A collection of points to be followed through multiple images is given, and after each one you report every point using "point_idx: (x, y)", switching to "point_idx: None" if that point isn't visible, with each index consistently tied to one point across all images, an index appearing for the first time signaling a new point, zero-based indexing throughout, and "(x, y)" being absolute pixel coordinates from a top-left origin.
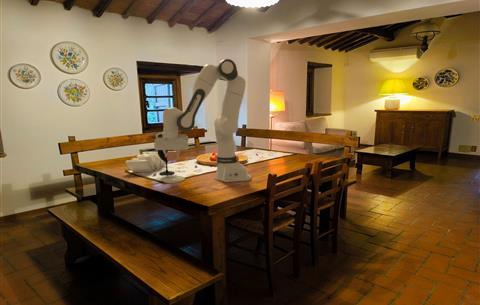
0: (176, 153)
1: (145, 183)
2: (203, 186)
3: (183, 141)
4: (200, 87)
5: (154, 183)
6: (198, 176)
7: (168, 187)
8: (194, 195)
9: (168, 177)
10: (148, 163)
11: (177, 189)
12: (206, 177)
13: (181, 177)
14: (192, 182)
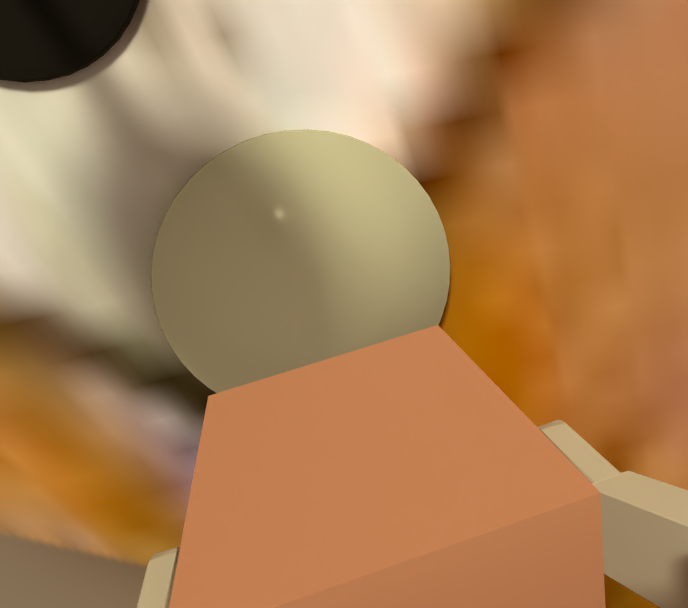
0: (527, 434)
1: (59, 486)
2: (668, 411)
3: None
4: None
5: (164, 459)
6: (580, 43)
7: None
8: (622, 593)
9: (216, 252)
10: None
11: None
12: (685, 80)
13: (394, 213)
14: (554, 325)
